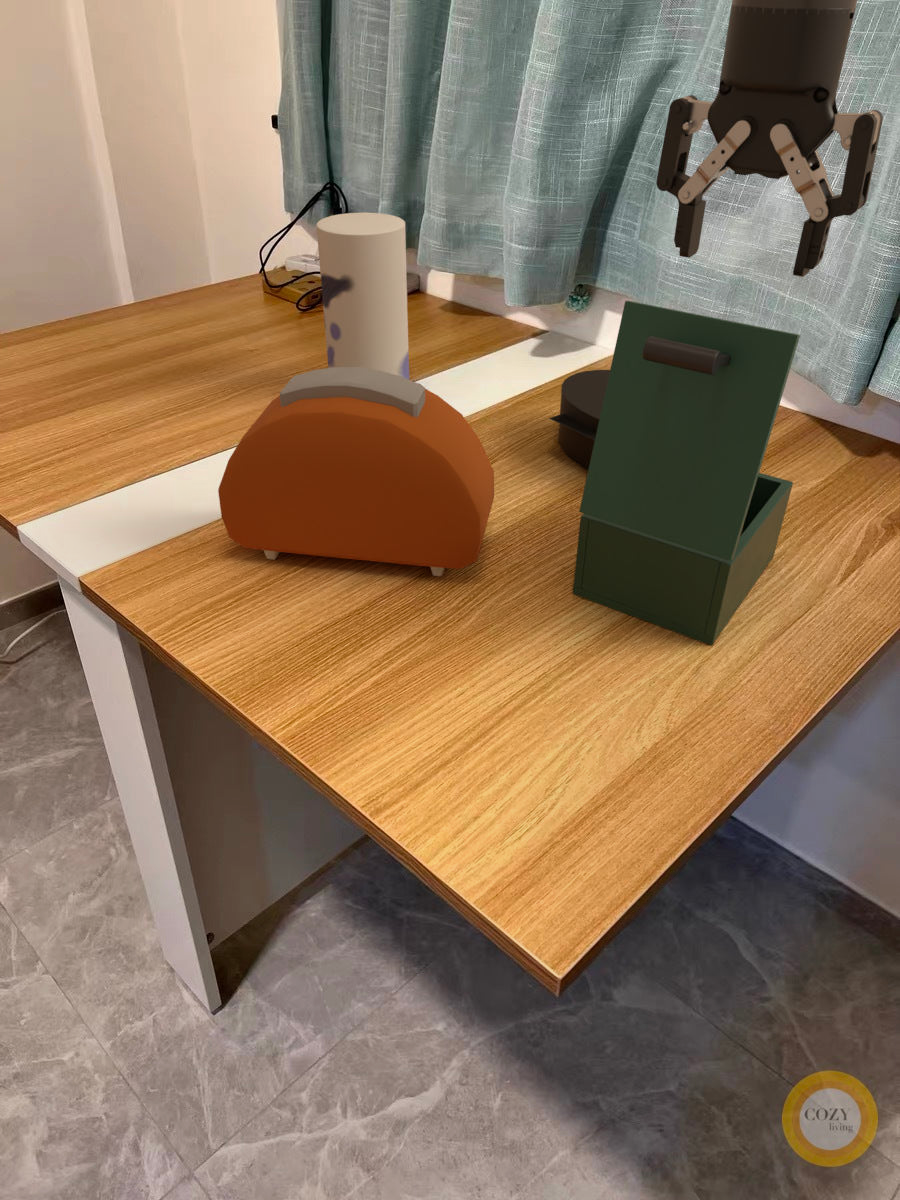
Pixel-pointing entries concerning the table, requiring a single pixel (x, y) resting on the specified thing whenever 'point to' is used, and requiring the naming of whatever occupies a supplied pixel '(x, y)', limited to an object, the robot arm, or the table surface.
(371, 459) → the orange toaster
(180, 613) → the table surface
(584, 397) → the waffle maker
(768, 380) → the lid
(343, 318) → the container
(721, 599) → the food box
